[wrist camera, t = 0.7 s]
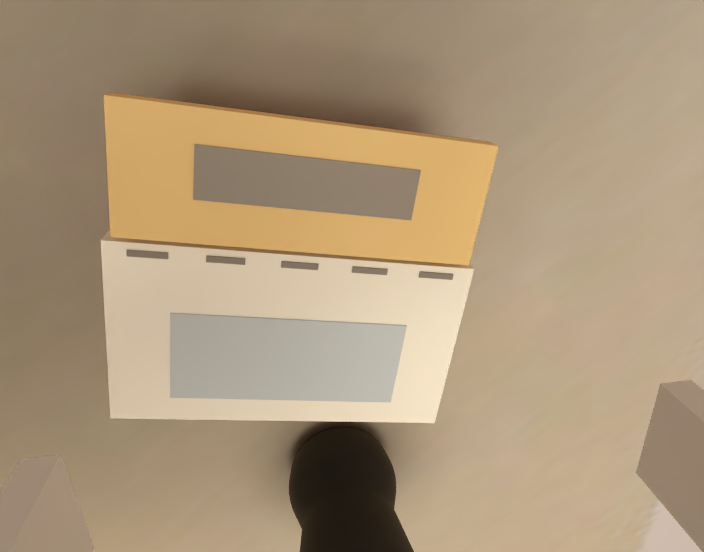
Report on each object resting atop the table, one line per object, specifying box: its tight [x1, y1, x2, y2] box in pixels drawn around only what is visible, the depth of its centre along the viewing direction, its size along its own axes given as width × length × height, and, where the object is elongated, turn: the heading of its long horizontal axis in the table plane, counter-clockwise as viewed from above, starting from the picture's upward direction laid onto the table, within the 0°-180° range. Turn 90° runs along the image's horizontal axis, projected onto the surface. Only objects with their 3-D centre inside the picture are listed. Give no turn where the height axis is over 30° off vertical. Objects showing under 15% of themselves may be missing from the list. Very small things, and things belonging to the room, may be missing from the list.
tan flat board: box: [104, 93, 499, 265], centre depth 23 cm, size 17×6×1 cm, turn 82°
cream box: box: [101, 230, 474, 423], centre depth 31 cm, size 18×10×10 cm, turn 82°
